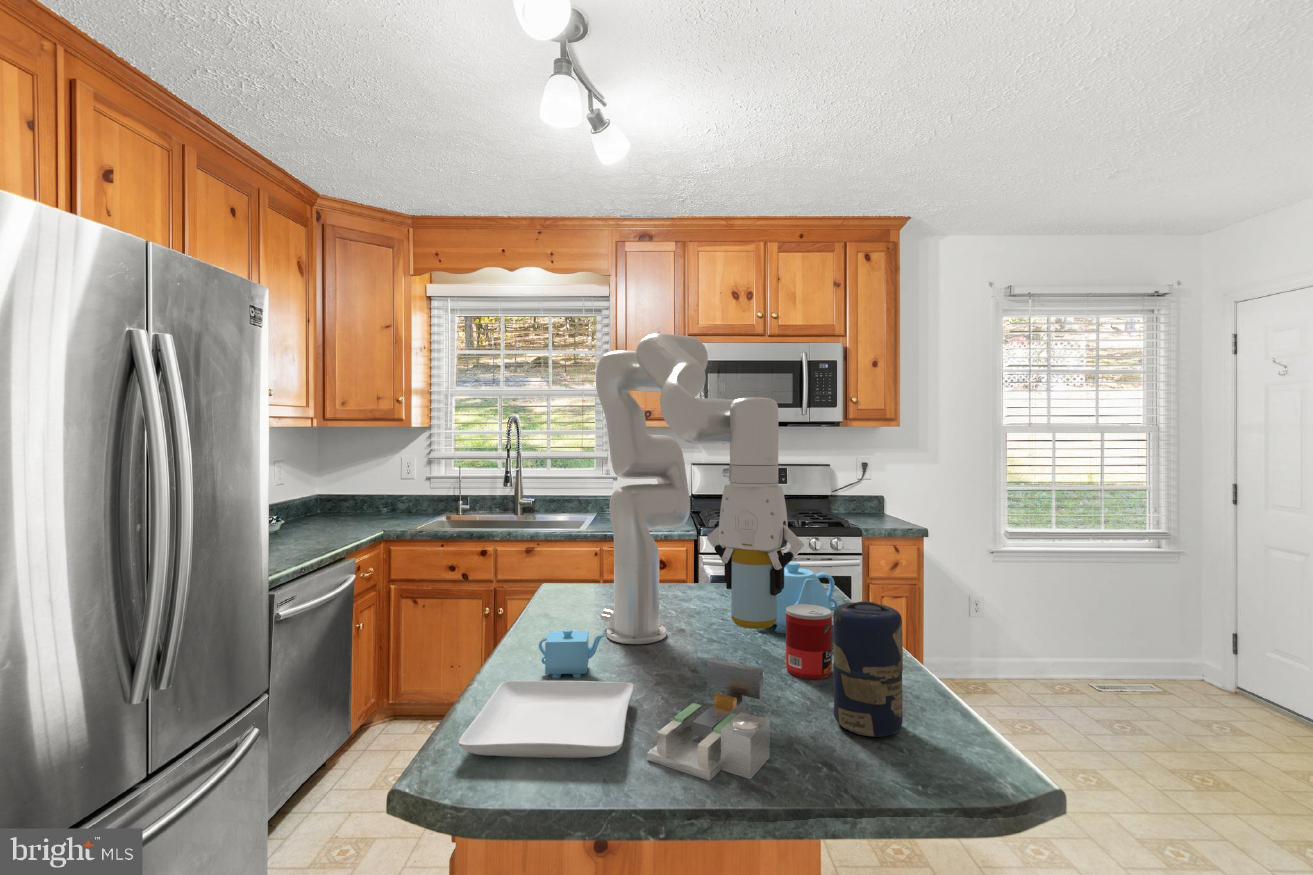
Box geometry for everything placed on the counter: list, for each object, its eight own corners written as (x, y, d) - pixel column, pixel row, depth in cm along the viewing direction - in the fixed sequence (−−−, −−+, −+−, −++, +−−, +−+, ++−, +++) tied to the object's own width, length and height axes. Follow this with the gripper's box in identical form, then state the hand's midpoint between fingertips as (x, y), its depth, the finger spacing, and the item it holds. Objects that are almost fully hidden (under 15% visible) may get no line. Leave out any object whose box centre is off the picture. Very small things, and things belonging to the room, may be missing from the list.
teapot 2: (778, 610, 149) (778, 552, 149) (853, 628, 135) (853, 564, 135) (736, 624, 138) (736, 561, 138) (812, 645, 124) (812, 575, 124)
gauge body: (647, 760, 80) (647, 718, 80) (688, 727, 89) (688, 690, 89) (740, 791, 73) (740, 745, 73) (774, 752, 82) (774, 712, 82)
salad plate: (501, 699, 99) (501, 677, 99) (634, 701, 98) (634, 679, 98) (454, 770, 78) (454, 742, 78) (622, 773, 77) (622, 745, 77)
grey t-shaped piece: (675, 729, 85) (675, 681, 85) (710, 701, 94) (711, 658, 94) (730, 746, 80) (730, 695, 80) (762, 715, 89) (762, 669, 89)
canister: (895, 749, 83) (895, 614, 83) (824, 731, 88) (824, 604, 88) (908, 721, 91) (908, 598, 91) (843, 706, 96) (843, 590, 96)
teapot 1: (607, 665, 113) (607, 624, 113) (606, 678, 107) (606, 634, 107) (540, 666, 112) (540, 625, 112) (536, 679, 106) (536, 636, 106)
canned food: (833, 681, 106) (833, 617, 106) (785, 677, 107) (785, 614, 107) (830, 665, 113) (830, 605, 113) (785, 662, 115) (785, 602, 115)
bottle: (781, 620, 99) (781, 525, 99) (770, 632, 92) (770, 531, 92) (739, 614, 102) (739, 523, 102) (725, 626, 95) (725, 528, 95)
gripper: (693, 476, 99) (693, 588, 98) (799, 479, 89) (799, 603, 89) (715, 473, 105) (715, 579, 105) (815, 477, 96) (815, 593, 96)
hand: (753, 589), depth 97 cm, fingers closed on bottle, 6 cm apart
